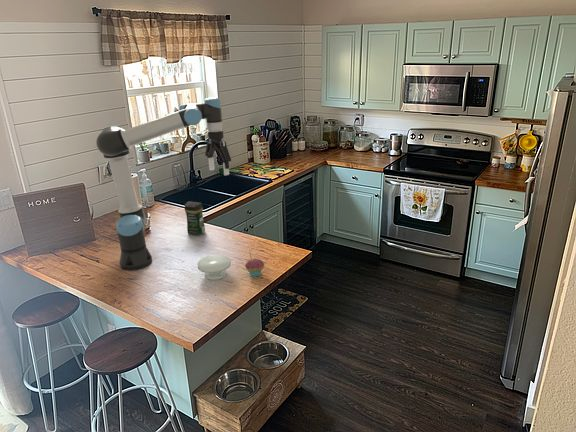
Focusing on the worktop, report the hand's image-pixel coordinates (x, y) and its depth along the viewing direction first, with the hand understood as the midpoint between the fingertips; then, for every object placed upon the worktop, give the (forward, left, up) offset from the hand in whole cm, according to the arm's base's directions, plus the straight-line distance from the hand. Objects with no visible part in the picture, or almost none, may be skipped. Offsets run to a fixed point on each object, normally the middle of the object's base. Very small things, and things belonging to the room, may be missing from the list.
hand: (219, 172), depth 222 cm
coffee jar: (-6, +21, -38) cm, 44 cm away
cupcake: (-9, -41, -38) cm, 57 cm away
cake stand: (-23, -29, -38) cm, 53 cm away
